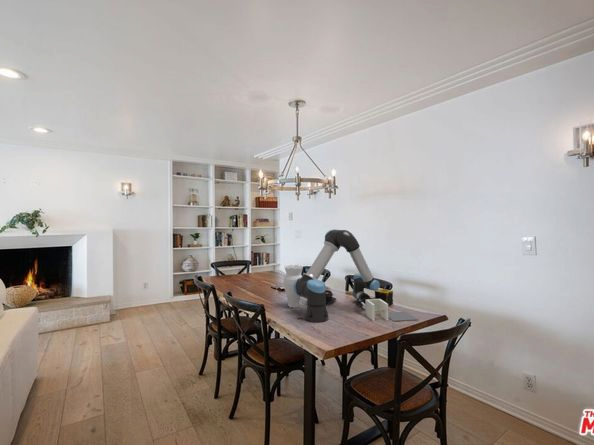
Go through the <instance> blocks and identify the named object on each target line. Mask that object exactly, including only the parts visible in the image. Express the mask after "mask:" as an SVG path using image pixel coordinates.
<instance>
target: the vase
mask: <svg viewBox="0 0 594 445" xmlns="http://www.w3.org/2000/svg"><path fill="white" fill-rule="evenodd" d="M303 268H304V267H303V265H299V264H294V265H293V264H289V265H285V266H284V270H285V273H286V274H285V276H284V277H283V288H284V292H285V295H286V299H287V306H289V307H288V308H291V307H293V309H294V308H295V309H296V308H299V307H300V300H301V298H302V297H301V296H299V295H297V294H296V293H295V291H294V283H295V281H296V280H297V279H299V278H301V277H302V276H303V274H302V271H303Z"/></svg>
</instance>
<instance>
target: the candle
mask: <svg viewBox="0 0 594 445" xmlns="http://www.w3.org/2000/svg"><path fill="white" fill-rule="evenodd" d="M374 298H377V299H381V300H384V301H385V302H386V303H387V304H388V307H390V306H391V305H393V304H394V299H393V298H394V291H393V290H390V289H386V288H385V289H384V288H379V289H378V290H377V291H374Z"/></svg>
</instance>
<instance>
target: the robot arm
mask: <svg viewBox="0 0 594 445" xmlns="http://www.w3.org/2000/svg"><path fill="white" fill-rule="evenodd" d="M323 244H324V246H323V247H322V248H321V250H320V252H318V255H317V257H316V258H315V260H314V261H313V263H312V264H311V265H310V267H309V269H308V271H307V272H305V273H303V274H302V277H301V278H299V279H297V280H296V281H295V283H294V291H295V293H296V294H297V295H299V296H301V297H300V298H304V299H306V308H305V312H304V320H306V321H307V322H312V323H323V322H326V321H328V320H329V312H328V309H327V306H326V305H327V304H326V290H327V287H326V283H325V282H324V281H323V280H320V279H319V278H320V277H321V275H322V273H323V272H324V271H325V269H326V267H327V265H328V263H329V262H330V260H331V259H332V257H333V256H334V254H335V252H338V251H339V250H340V248H341V247H342V248H344V249H345V250H346V252H347V253H348V254H349V256H350V257H351V259H352V262H353V263H354V265H355V267H356V269H357V271H358V273H354V275H353V290H352V291H351V294H352V297H353V298H354V299H355V300H356V302H355V306H356V307H358V308H361V307H362V308H363V309H364V310H365V309H366V305H365V300H366V299H377V298H375V297H373V298H372V297H370V295H369V294H368V293H366V292H365V289H366V290H368V291H369V290H370V291H372V292H373V291H374V292H375V291H377V290H379V289H380V286H381V285H380V281H378V280H377V279H375V278H374V276H373V274H372V271H371V270H370V269H371V268H369V265H368V264H367V261H366V259H365V257H364V255H363V253H362V251H361V249H360V247H361V246H360V244H359V242H358V239H357V238H356V237H355V235H354V234H353V233H352V232H350V231H349V230H346V229H330V230H328V231H326V233H325V235H324V242H323ZM383 301H384V300H383ZM384 302H385V301H384Z"/></svg>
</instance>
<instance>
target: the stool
mask: <svg viewBox="0 0 594 445" xmlns="http://www.w3.org/2000/svg"><path fill="white" fill-rule="evenodd" d="M365 305H366V309H364V310H365V316H366V317H367V318H368V319H370V320H371V321H372V322H375V320H376V318H375V317H376V316H380V317H381V318H383V319H384V320H385V321H389V318H388V312H389V306H388V304H387V303H386V302H384V301H383V300H381V299H374V298H373V299H366V300H365Z"/></svg>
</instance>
